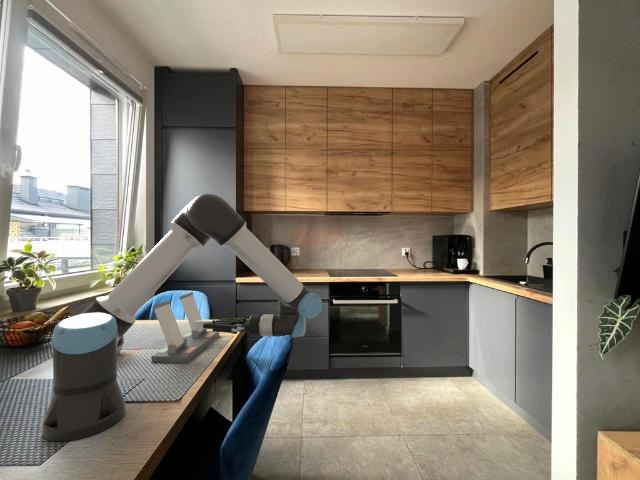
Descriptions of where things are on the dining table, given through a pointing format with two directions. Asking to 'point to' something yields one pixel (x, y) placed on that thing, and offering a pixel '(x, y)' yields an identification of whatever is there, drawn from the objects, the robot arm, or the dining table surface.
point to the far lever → (191, 310)
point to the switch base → (186, 347)
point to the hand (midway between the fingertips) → (195, 324)
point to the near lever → (168, 324)
